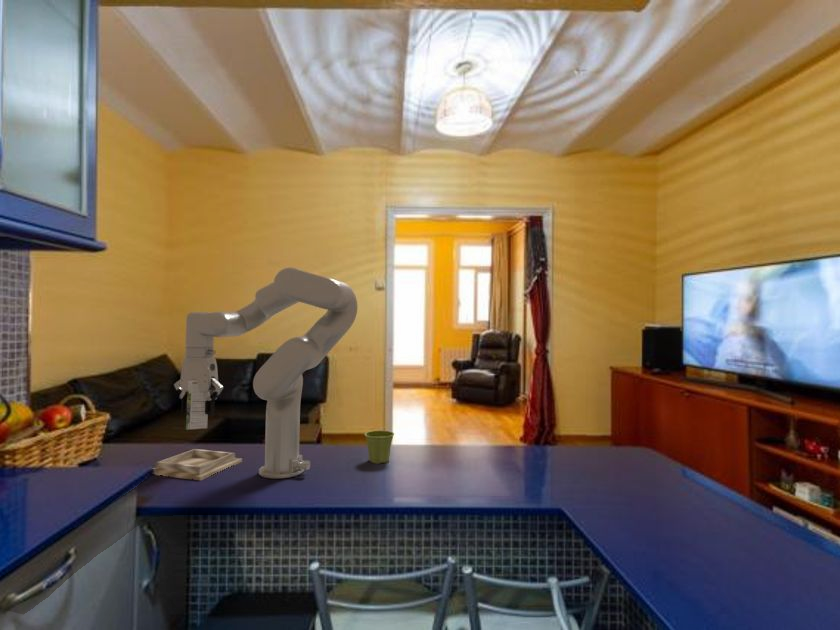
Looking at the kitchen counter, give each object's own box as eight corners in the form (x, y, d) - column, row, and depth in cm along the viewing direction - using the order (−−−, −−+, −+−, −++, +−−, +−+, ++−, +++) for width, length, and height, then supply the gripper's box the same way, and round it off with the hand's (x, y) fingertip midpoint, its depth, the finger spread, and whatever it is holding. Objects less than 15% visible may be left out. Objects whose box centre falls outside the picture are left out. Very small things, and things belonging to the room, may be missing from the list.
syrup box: (186, 425, 139) (187, 377, 140) (208, 424, 142) (209, 377, 142) (185, 430, 134) (187, 379, 134) (208, 428, 137) (209, 379, 137)
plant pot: (359, 463, 144) (359, 435, 144) (371, 455, 153) (371, 429, 153) (387, 466, 141) (387, 438, 141) (397, 458, 150) (398, 431, 150)
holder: (242, 461, 144) (242, 452, 144) (200, 480, 127) (200, 469, 127) (193, 456, 149) (193, 447, 149) (147, 473, 131) (147, 463, 131)
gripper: (232, 353, 140) (231, 412, 139) (184, 351, 144) (182, 408, 144) (215, 355, 132) (213, 417, 132) (165, 353, 137) (163, 412, 137)
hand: (197, 412), depth 138 cm, fingers closed on syrup box, 7 cm apart
